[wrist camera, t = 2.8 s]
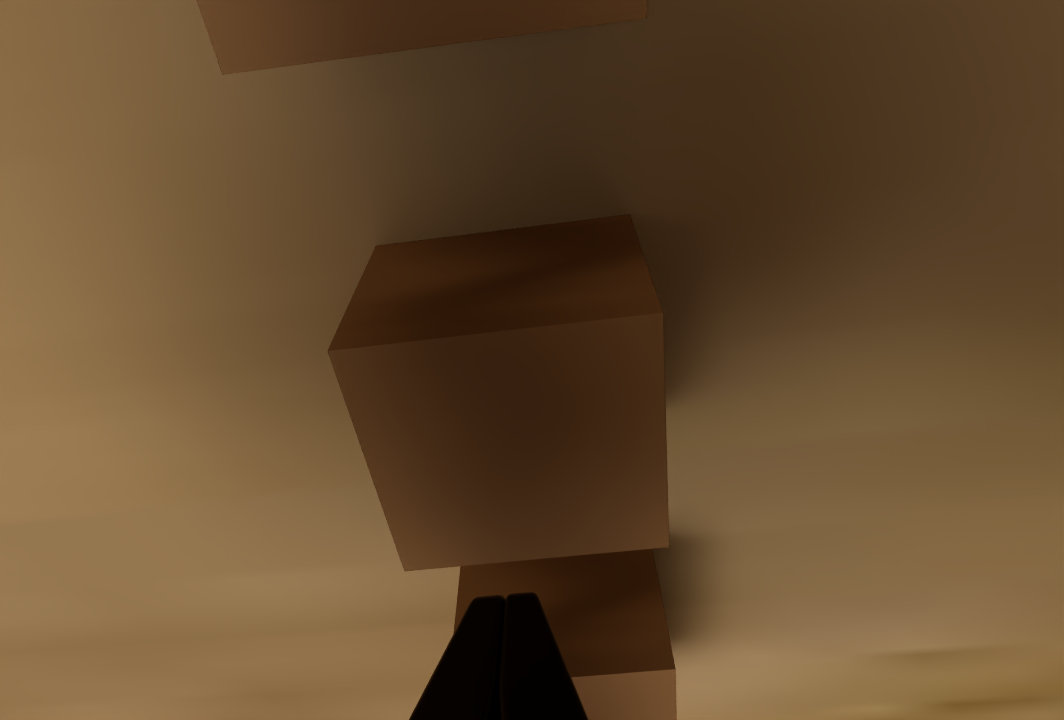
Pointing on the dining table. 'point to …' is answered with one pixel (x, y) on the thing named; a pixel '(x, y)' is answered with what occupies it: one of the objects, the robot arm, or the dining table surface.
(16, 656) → the dining table surface
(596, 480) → the plain block
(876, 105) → the dining table surface
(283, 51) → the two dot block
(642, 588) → the one dot block
